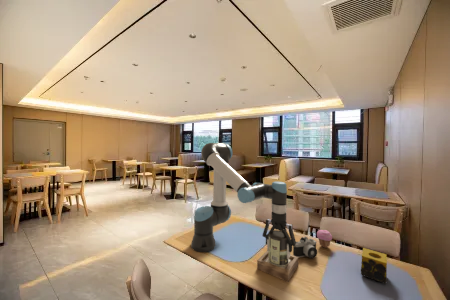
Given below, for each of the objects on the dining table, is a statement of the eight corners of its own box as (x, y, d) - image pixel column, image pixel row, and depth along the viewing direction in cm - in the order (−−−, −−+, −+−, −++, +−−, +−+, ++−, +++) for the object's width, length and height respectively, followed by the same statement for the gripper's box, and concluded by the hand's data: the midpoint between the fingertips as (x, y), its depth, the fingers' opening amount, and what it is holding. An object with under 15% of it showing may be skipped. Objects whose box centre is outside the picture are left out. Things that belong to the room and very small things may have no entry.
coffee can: (287, 256, 106) (287, 231, 105) (289, 268, 96) (289, 239, 95) (268, 254, 108) (268, 229, 108) (268, 265, 98) (268, 237, 98)
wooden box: (257, 268, 100) (257, 260, 100) (270, 255, 113) (270, 247, 113) (288, 281, 91) (288, 272, 90) (298, 265, 103) (298, 257, 103)
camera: (299, 262, 106) (300, 244, 106) (290, 253, 115) (290, 237, 115) (323, 258, 111) (323, 240, 110) (312, 250, 119) (312, 234, 119)
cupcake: (327, 250, 119) (327, 234, 118) (314, 245, 126) (314, 229, 125) (334, 246, 124) (334, 231, 124) (321, 241, 131) (321, 226, 131)
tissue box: (361, 265, 104) (362, 247, 104) (386, 273, 98) (386, 253, 98) (360, 275, 96) (360, 255, 96) (386, 284, 90) (387, 263, 90)
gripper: (256, 209, 105) (255, 250, 105) (299, 218, 92) (298, 265, 92) (262, 206, 111) (261, 244, 111) (303, 214, 98) (302, 258, 98)
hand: (278, 254), depth 102 cm, fingers closed on coffee can, 10 cm apart
